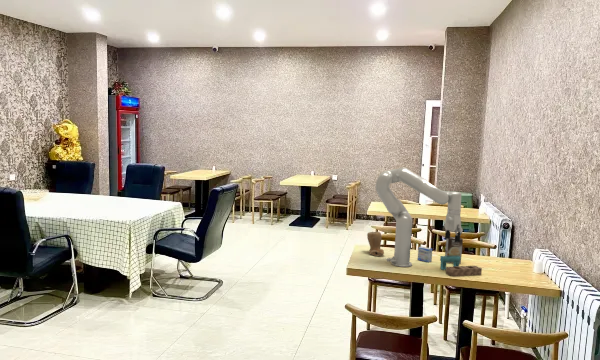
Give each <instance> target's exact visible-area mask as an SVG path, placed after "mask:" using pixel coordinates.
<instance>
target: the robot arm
mask: <svg viewBox="0 0 600 360" xmlns="http://www.w3.org/2000/svg"><path fill="white" fill-rule="evenodd" d="M400 182H401V183H402V184H405V185H406V186H408V187H410V188H412V189H414V190H415V191H417V192H418V193H419V194H422V195H423V196H426V197H427V198H429V199H430V200H432V201H434V202H435V203H437V204H439V205H446V204H447V213H446V216H445V222H444V223H443V227H444V232H445V235H444V236H445V239H450V237H451V232H453V233H454V234H455V235H454V237H455V242H460V238H461V235H462V234H463V230H464V229H463V227H462V218H461V209H462V193H461V192H460V191H447V190H442V189H440V188H438V187H436V186H434V185H433V184H432V183H430V182H429V181H428V180H427V179H426V178H424V177H422V176H420V175H419V174H417V173H415V172H413V171H412V170H411V169H409V168H407V167H399V168H395V169H389V170H384V171H382V172H381V173H380V174H379V175H378V177H377V179H376V181H375V191H376V194H377V196H378V198H379V199H380V200H381V202H382V204H383V205H384V207H385V208H386V209H387V212H388V213H389V214H390V215H392V217H393V219H394V220H395V221H396V222H395V234H394V235H395V236H394V237H395V239H394V254H393V256H392V257H388V258H386V262H390V264H391V265H393V266H395V267H401V268H410V267H412V266H413V263H412V262H411V261H410V260H411V258H410V257H411V245H412V243H411V242H412V230H413V219H412V215H411V214H410V213H409V211H408V210H407V208H406V206H405V205H404V203H403V202H402V201H401V200H400V199H399V198H397V197H396V196H395V194H394V191H393V190H392V189H391V187H390V185H391V184H396V183H400Z"/></svg>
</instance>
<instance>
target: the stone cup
mask: <svg viewBox="0 0 600 360" xmlns="http://www.w3.org/2000/svg"><path fill="white" fill-rule="evenodd" d="M366 236H367V242H368V245H369V251H368V252H369V254H370V255H372V256H374V257H381V256H384V255H385V251H384V249H382V248H381V244H382V233H381V232H380V231H369V232H367V234H366Z"/></svg>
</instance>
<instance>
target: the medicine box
mask: <svg viewBox="0 0 600 360" xmlns="http://www.w3.org/2000/svg"><path fill="white" fill-rule="evenodd" d="M417 261H420V262H425V263H431V262H432V261H433V248H432V247H425V246H422V245H421V246H419V247H418V250H417Z"/></svg>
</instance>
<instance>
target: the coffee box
mask: <svg viewBox="0 0 600 360" xmlns="http://www.w3.org/2000/svg"><path fill="white" fill-rule="evenodd" d="M445 239H446V238H445ZM445 241H446V242H445V252H444V256H454V255H458V256H460V261H459V265H461V263H462V253H463V242H464V239H463V238H461V237H460V242H455V236H450V239H446V240H445ZM446 264H453V262H447V263H446Z"/></svg>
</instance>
